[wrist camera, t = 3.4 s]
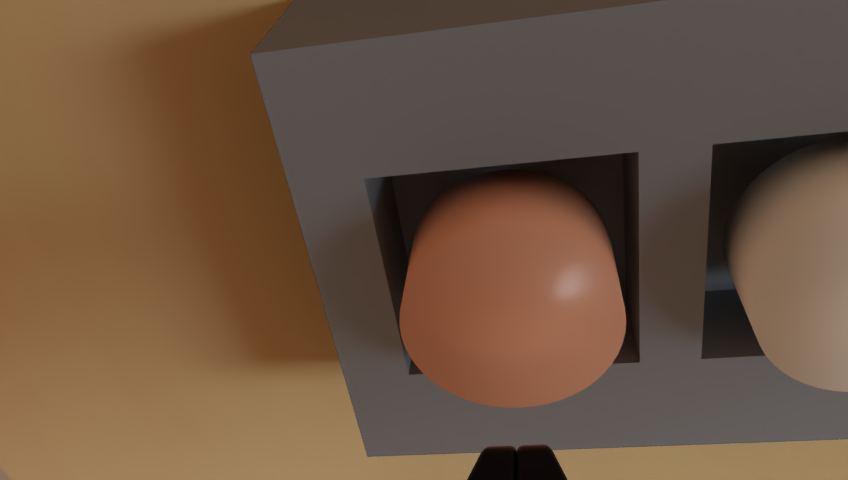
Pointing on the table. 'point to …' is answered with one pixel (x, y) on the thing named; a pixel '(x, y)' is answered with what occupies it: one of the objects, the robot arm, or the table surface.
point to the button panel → (570, 162)
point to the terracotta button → (512, 291)
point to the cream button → (796, 262)
